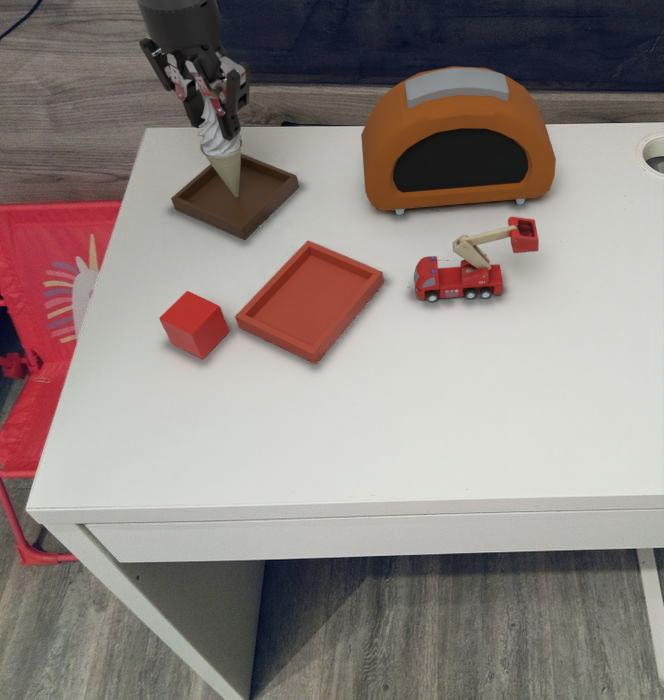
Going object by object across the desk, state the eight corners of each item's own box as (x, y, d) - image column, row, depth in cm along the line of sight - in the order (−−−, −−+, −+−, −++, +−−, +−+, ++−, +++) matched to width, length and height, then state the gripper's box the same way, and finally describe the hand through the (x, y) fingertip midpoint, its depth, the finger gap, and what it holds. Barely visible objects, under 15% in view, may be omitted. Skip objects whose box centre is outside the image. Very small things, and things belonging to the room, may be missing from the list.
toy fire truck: (414, 281, 90) (409, 221, 83) (530, 275, 91) (536, 214, 83) (415, 303, 88) (411, 243, 81) (533, 296, 89) (540, 236, 81)
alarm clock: (369, 221, 97) (354, 108, 83) (365, 174, 102) (350, 60, 89) (552, 205, 98) (566, 92, 85) (539, 160, 104) (550, 46, 90)
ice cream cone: (263, 187, 100) (236, 85, 88) (246, 212, 97) (215, 111, 85) (227, 180, 101) (196, 78, 89) (209, 205, 98) (174, 103, 86)
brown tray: (244, 240, 95) (241, 228, 93) (175, 209, 98) (170, 198, 96) (299, 186, 100) (296, 175, 99) (231, 159, 104) (228, 148, 102)
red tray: (315, 364, 83) (313, 353, 82) (238, 327, 86) (234, 316, 85) (383, 282, 90) (382, 271, 89) (310, 251, 93) (307, 239, 92)
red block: (203, 359, 84) (191, 334, 80) (171, 344, 85) (158, 318, 81) (229, 331, 86) (219, 305, 82) (198, 316, 87) (187, 290, 84)
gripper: (92, -14, 77) (148, 129, 91) (203, 24, 73) (244, 167, 87) (145, -46, 81) (191, 96, 95) (253, -12, 77) (284, 131, 91)
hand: (216, 129), depth 91 cm, fingers closed on ice cream cone, 4 cm apart
